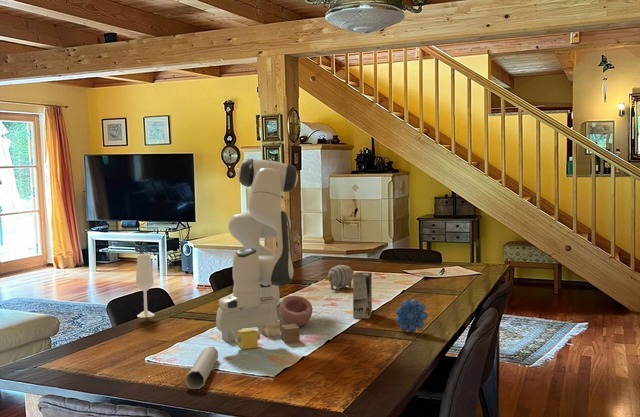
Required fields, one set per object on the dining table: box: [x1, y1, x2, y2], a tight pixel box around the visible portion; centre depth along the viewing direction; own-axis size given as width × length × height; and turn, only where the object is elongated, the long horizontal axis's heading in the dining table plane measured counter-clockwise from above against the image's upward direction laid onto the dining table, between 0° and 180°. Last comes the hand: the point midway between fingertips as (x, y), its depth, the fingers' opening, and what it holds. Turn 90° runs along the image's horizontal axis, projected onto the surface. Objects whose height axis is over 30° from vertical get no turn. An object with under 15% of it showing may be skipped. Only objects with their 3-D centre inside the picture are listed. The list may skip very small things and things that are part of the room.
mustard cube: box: [237, 327, 259, 350], centre depth 206 cm, size 5×5×5 cm
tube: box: [185, 346, 219, 390], centre depth 182 cm, size 5×5×25 cm
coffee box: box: [352, 272, 373, 319], centre depth 244 cm, size 9×6×16 cm
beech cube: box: [260, 319, 281, 338], centre depth 221 cm, size 5×5×5 cm
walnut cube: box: [280, 324, 301, 345], centre depth 212 cm, size 5×5×5 cm
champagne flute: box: [135, 253, 155, 318], centre depth 248 cm, size 7×7×24 cm
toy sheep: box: [324, 264, 355, 291], centre depth 294 cm, size 11×17×11 cm, turn 134°
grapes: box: [395, 298, 429, 334], centre depth 221 cm, size 12×7×12 cm, turn 62°
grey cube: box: [221, 329, 242, 343], centre depth 215 cm, size 5×5×5 cm
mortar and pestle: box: [278, 295, 313, 327], centre depth 230 cm, size 12×12×12 cm
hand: (247, 340), depth 206 cm, fingers closed on mustard cube, 5 cm apart
